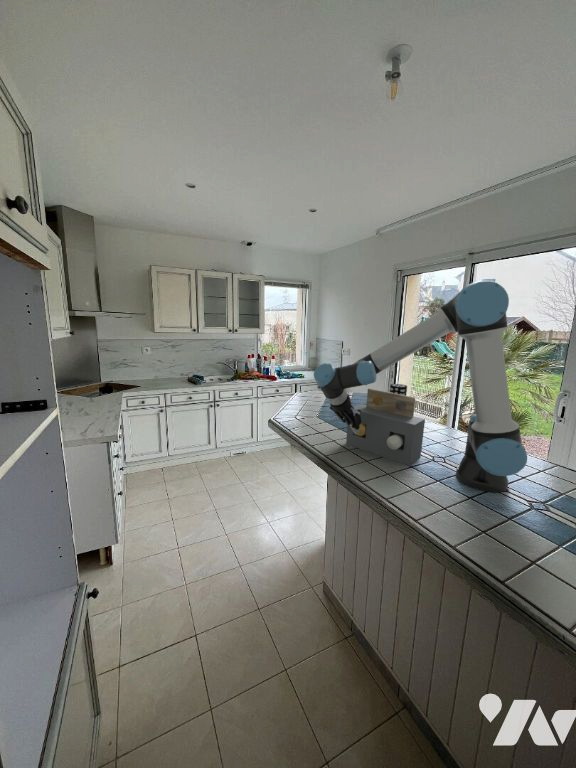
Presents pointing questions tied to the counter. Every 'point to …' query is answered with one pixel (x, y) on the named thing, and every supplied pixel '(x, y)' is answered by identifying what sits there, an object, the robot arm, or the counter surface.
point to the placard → (391, 402)
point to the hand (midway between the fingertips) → (357, 431)
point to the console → (388, 434)
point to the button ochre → (362, 429)
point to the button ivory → (395, 441)
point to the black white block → (398, 389)
